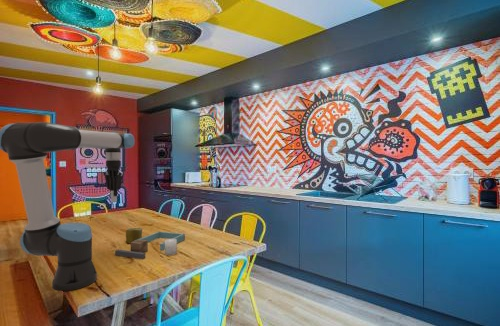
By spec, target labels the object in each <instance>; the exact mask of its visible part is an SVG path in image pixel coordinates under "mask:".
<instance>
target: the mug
mask: <svg viewBox="0 0 500 326" xmlns="http://www.w3.org/2000/svg"><path fill="white" fill-rule="evenodd" d="M141 238H143V227H133V228H132V227H129V228H126V229H125V240H126V243H127V244H130V243H131V242H133V241H135V240H138V239H141Z"/></svg>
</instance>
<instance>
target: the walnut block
mask: <svg viewBox="0 0 500 326" xmlns="http://www.w3.org/2000/svg"><path fill="white" fill-rule="evenodd" d="M148 243H149V242H148V241H147V240H136V241H133V242H131V243H129V244H130V251H134V252H141V253H145V254H146V253H148V250H149V249H148V245H149V244H148Z"/></svg>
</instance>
